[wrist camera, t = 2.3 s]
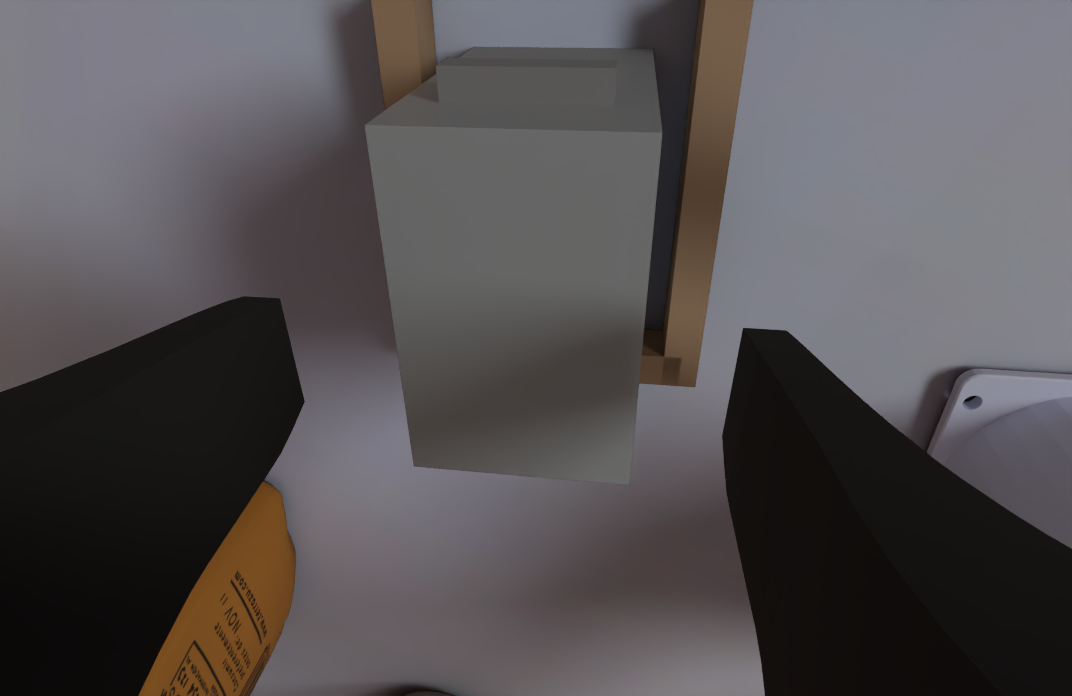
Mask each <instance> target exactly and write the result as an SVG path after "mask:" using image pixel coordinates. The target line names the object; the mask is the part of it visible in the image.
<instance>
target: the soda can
mask: <svg viewBox="0 0 1072 696" xmlns="http://www.w3.org/2000/svg"><path fill="white" fill-rule="evenodd" d="M405 696H452V695H448V694H444V693H439V692H430V691H422V692H414V693H410V694H407V695H405Z"/></svg>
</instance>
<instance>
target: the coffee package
mask: <svg viewBox="0 0 1072 696" xmlns="http://www.w3.org/2000/svg"><path fill="white" fill-rule="evenodd" d="M295 569H296V555H295V548H294V545H293V542H292V539H291V537H290V535H289V533H288V530H287V524H286V515H285V509H284V504H283V498H282V496H281V493H280V492H279V491H278V490H277V489H276V488H275V487H274V486H272V485H270V484H268V483H266V482H264V481H263V482H262V484H261V485H260V487H259V488H258V490H257V491H256V493H255V494H254V496H253V497H252V499H251V500H250V502H249V503H248V505H247V506H246V508H245V509H244V511H243V512H242V514H241V515H240V517H239V518H238V520H237V521H236V523H235V524H234V526H233V527H232V529H231V530H230V532H229V533H228V535H227V536H226V538H225V539H224V541H223V542H222V544H221V545H220V547H219V548H218V550H217V551H216V553H215V554H214V556H213V557H212V559H211V561H210V562H209V564H208V565H207V567H206V568H205V570H204V571H203V573H202V575H201V576H200V578H199V580H198V581H197V583H196V585H195V586H194V588H193V590H192V591H191V593H190V595H189V597H188V598H187V600H186V602H185V604H184V606H183V608H182V610H181V612H180V614H179V616H178V618H177V620H176V621H175V623H174V625H173V627H172V629H171V631H170V633H169V635H168V637H167V639H166V641H165V642H164V644H163V646H162V648H161V650H160V652H159V654H158V656H157V658H156V660H155V662H154V664H153V666H152V669H151V671H150V673H149V675H148V677H147V679H146V681H145V683H144V685H143V687H142V689H141V691H140V693H139V695H138V696H250V694H251V692H252V691H253V689H254V687H255V685H256V683H257V681H258V679H259V677H260V675H261V673H262V672H263V670H264V668H265V666H266V664H267V662H268V660H269V658H270V656H271V654H272V652H273V650H274V648H275V646H276V643H277V641H278V639H279V637H280V635H281V633H282V630H283V626H284V622H285V620H286V618H287V616H288V613H289V611H290V608H291V602H292V596H293V591H294V583H295Z"/></svg>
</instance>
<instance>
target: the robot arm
mask: <svg viewBox="0 0 1072 696" xmlns="http://www.w3.org/2000/svg"><path fill="white" fill-rule="evenodd" d="M970 396H976V397H975V398H974V399H973V400H971V401H968V402H964V400H965V399H966V398H968V397H970ZM304 402H305V401H304V397H303V393H302V389H301V385H300V381H299V377H298V372H297V368H296V364H295V360H294V356H293V352H292V348H291V343H290V339H289V335H288V331H287V327H286V323H285V318H284V314H283V310H282V306H281V302H280V299H277V298H261V297H245V296H244V297H240V298H237V299H233V300H230V301H227V302H224V303H221V304H218V305H216V306H213V307H210V308H208V309H205V310H203V311H200V312H198V313H195V314H193V315H191V316H188V317H186V318H183V319H181V320H179V321H176V322H174V323H172V324H169V325H167V326H165V327H162V328H160V329H158V330H155V331H153V332H151V333H148V334H146V335H144V336H141V337H139V338H137V339H134V340H132V341H130V342H127V343H125V344H123V345H120V346H118V347H116V348H113V349H111V350H109V351H106V352H104V353H101V354H99V355H96V356H94V357H91V358H89V359H86V360H84V361H81V362H79V363H76V364H74V365H71V366H69V367H66V368H64V369H61V370H59V371H56V372H54V373H51V374H49V375H46V376H44V377H41V378H39V379H36V380H33V381H31V382H28V383H25V384H22V385H20V386H17V387H14V388H11V389H8V390H6V391H3V392H0V696H138V695H139V693H140V691H141V689H142V687H143V685H144V683H145V681H146V679H147V677H148V675H149V673H150V671H151V669H152V666H153V664H154V662H155V660H156V658H157V656H158V654H159V652H160V650H161V648H162V646H163V644H164V642H165V641H166V639H167V637H168V635H169V633H170V631H171V629H172V627H173V625H174V623H175V621H176V620H177V618H178V616H179V614H180V612H181V610H182V608H183V606H184V604H185V602H186V600H187V598H188V597H189V595H190V593H191V591H192V590H193V588H194V586H195V585H196V583H197V581H198V580H199V578H200V576H201V575H202V573H203V571H204V570H205V568H206V567H207V565H208V564H209V562H210V561H211V559H212V557H213V556H214V554H215V553H216V551H217V550H218V548H219V547H220V545H221V544H222V542H223V541H224V539H225V538H226V536H227V535H228V533H229V532H230V530H231V529H232V527H233V526H234V524H235V523H236V521H237V520H238V518H239V517H240V515H241V514H242V512H243V511H244V509H245V508H246V506H247V505H248V503H249V502H250V500H251V499H252V497H253V496H254V494H255V493H256V491H257V490H258V488H259V487H260V485H261V484H262V482H263V481H264V479H265V477H266V476H267V474H268V473H269V471H270V470H271V468H272V467H273V465H274V463H275V462H276V460H277V459H278V457H279V455H280V454H281V452H282V450H283V448H284V446H285V444H286V442H287V440H288V438H289V436H290V434H291V432H292V430H293V427H294V425H295V423H296V420H297V418H298V416H299V413H300V411H301V409H302V407H303V404H304ZM722 438H723V453H724V468H725V479H726V491H727V497H728V502H729V507H730V512H731V517H732V521H733V526H734V531H735V536H736V540H737V545H738V550H739V554H740V559H741V563H742V568H743V573H744V577H745V582H746V587H747V591H748V596H749V600H750V605H751V610H752V614H753V619H754V623H755V628H756V634H757V639H758V645H759V651H760V657H761V663H762V672H763V681H764V690H765V696H1072V374H1057V373H1042V372H1026V371H1010V370H994V369H971V370H969V371H966V372H964V373H963V374H961V375H960V376H959V377H958V379H957V380H956V382H955V384H954V387H953V389H952V391H951V394H950V396H949V399H948V401H947V404H946V406H945V408H944V411H943V413H942V416H941V418H940V421H939V423H938V425H937V428H936V430H935V433H934V435H933V438H932V440H931V442H930V445H929V447H928V450H927V452H925V451H924V450H923V449H921V448H920V447H919V446H918V445H916V444H915V443H914V442H912V441H911V440H910V439H909V438H907V437H906V436H905V435H904V434H902V433H901V432H900V431H898V430H897V429H896V428H895V427H894V426H892V425H891V424H890V423H889V422H888V421H886V420H885V419H884V418H883V417H882V416H880V415H879V414H878V413H877V412H876V411H875V410H873V409H872V408H871V407H870V406H869V405H868V404H867V403H865V402H864V401H863V400H862V399H861V398H860V397H859V396H858V395H856V394H855V393H854V392H853V391H852V390H851V389H850V388H849V387H848V386H846V385H845V384H844V383H843V382H842V381H841V380H840V379H839V378H838V377H837V376H836V375H834V374H833V373H832V372H831V371H830V370H829V369H828V368H827V367H826V366H825V365H824V364H823V363H822V362H821V361H819V360H818V359H817V358H816V357H815V356H814V355H813V354H812V353H811V352H810V351H809V350H808V349H807V348H806V347H805V346H803V345H802V344H801V343H800V342H799V341H798V340H797V339H796V338H795V337H793V336H792V335H791V334H790V333H789V332H787V331H784V330H768V329H752V328H743V332H742V337H741V342H740V347H739V352H738V358H737V363H736V368H735V373H734V378H733V383H732V389H731V394H730V399H729V404H728V409H727V414H726V419H725V425H724V430H723V435H722Z"/></svg>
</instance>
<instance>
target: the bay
mask: <svg viewBox="0 0 1072 696" xmlns="http://www.w3.org/2000/svg"><path fill="white" fill-rule="evenodd" d="M753 1H754V0H700V3H699V12H698V20H697V29H696V38H695V47H694V56H693V65H692V74H691V83H690V92H689V101H688V110H687V118H686V127H685V136H684V145H683V154H682V163H681V172H680V181H679V190H678V199H677V208H676V217H675V225H674V234H673V243H672V252H671V261H670V270H669V279H668V288H667V297H666V306H665V315H664V323H663V330H646V329H644V335H643V345H642V356H641V366H640V377H639V383H642V384H657V385H671V386H685V387H695V384H696V378H697V371H698V365H699V358H700V351H701V345H702V338H703V332H704V325H705V318H706V312H707V305H708V299H709V292H710V285H711V279H712V272H713V266H714V259H715V252H716V246H717V239H718V233H719V226H720V219H721V213H722V206H723V199H724V193H725V186H726V180H727V173H728V166H729V160H730V153H731V147H732V140H733V133H734V127H735V120H736V114H737V107H738V100H739V94H740V87H741V81H742V74H743V67H744V61H745V54H746V48H747V41H748V34H749V28H750V21H751V14H752V8H753ZM371 3H372V11H373V19H374V27H375V35H376V43H377V51H378V58H379V66H380V74H381V82H382V90H383V98H384V106H385V110H386V109H388V108H389V107H390V106H392V105H393V104H395V103H396V102H397V101H399V100H400V99H402V98H403V97H404V96H406V95H407V94H409V93H410V92H411V91H413V90H414V89H416V88H417V87H418V86H420V85H421V84H423V83H424V82H425V81H427V80H428V79H430V78H431V77H432V76H434V75H435V74H436V65H437V61H436V49H435V37H434V25H433V13H432V1H431V0H371Z"/></svg>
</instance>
